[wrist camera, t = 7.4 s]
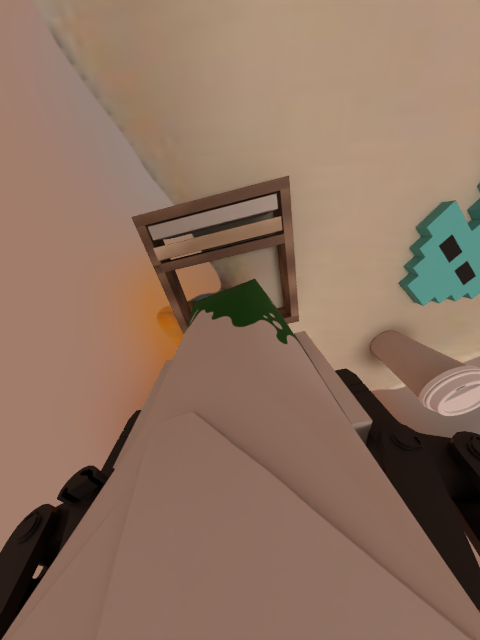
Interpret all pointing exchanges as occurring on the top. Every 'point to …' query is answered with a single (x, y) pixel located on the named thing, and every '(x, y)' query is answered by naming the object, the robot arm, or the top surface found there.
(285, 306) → the offcut rack
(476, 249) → the alien figure
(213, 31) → the top surface
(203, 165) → the top surface
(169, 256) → the birch offcut
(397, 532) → the soya milk
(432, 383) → the coffee cup
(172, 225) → the grey offcut
